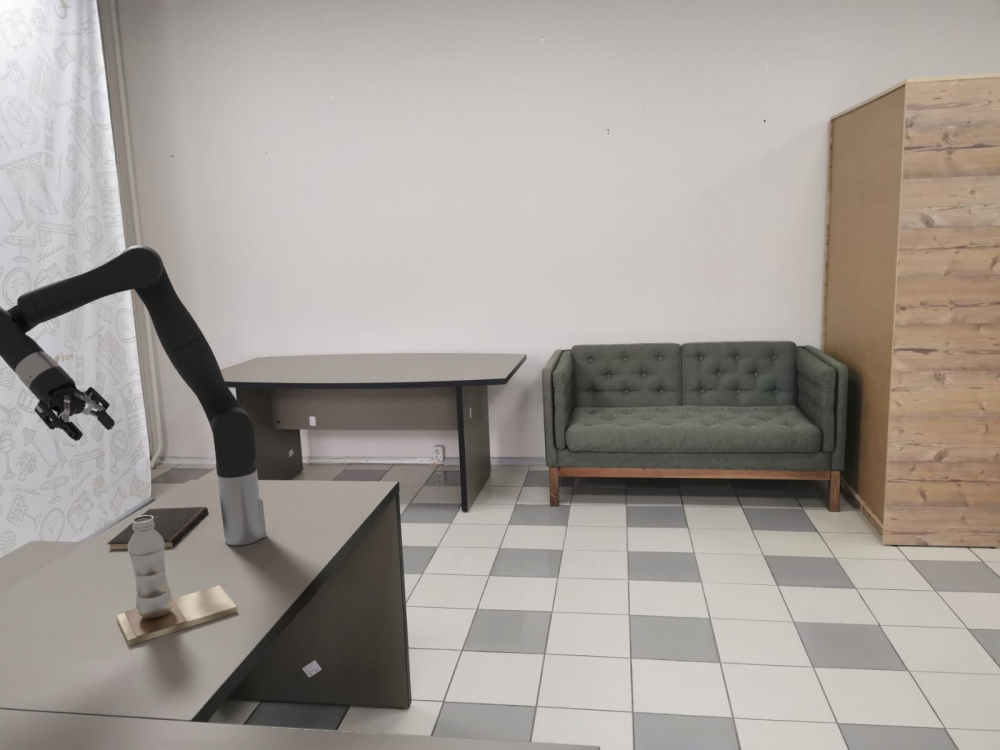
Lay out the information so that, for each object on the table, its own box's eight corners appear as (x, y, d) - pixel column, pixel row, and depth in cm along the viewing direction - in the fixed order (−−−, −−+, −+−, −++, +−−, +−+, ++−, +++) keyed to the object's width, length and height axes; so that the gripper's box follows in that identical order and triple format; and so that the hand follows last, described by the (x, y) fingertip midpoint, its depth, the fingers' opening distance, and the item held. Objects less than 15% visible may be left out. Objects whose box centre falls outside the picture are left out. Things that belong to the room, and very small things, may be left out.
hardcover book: (108, 552, 190) (107, 543, 189) (150, 516, 212) (149, 508, 212) (173, 549, 190) (172, 540, 189) (208, 514, 212) (207, 506, 212)
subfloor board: (220, 590, 166) (219, 584, 165) (237, 611, 156) (236, 605, 156) (117, 620, 155) (116, 614, 154) (128, 645, 145) (127, 639, 145)
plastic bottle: (161, 624, 149) (147, 526, 146) (130, 622, 151) (116, 524, 147) (181, 608, 156) (169, 513, 152) (151, 605, 157) (138, 511, 153)
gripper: (23, 372, 157) (76, 429, 155) (80, 359, 170) (130, 412, 169) (7, 397, 159) (60, 454, 158) (65, 382, 173) (114, 434, 171)
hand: (96, 432), depth 163 cm, fingers open, 8 cm apart
